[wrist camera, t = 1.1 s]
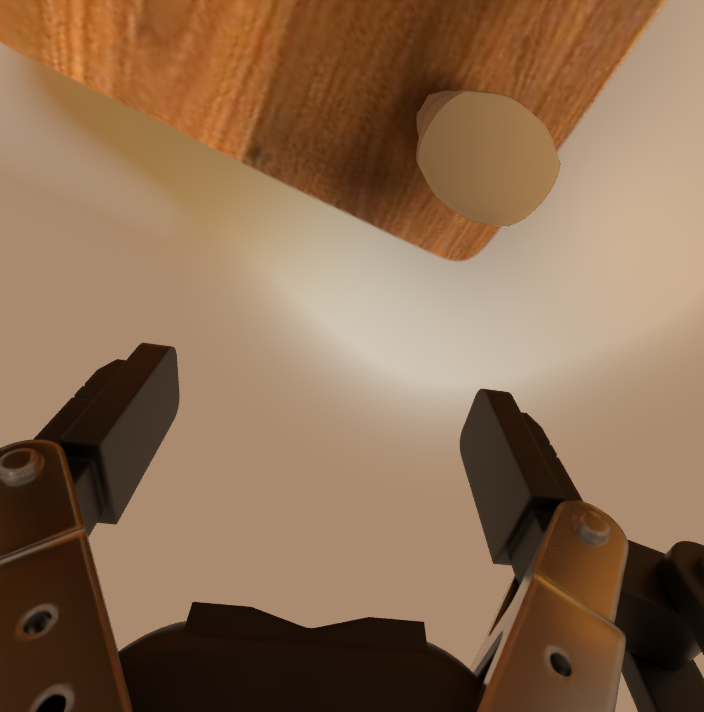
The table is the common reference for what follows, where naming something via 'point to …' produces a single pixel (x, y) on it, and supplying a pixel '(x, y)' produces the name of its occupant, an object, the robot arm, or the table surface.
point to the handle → (485, 155)
